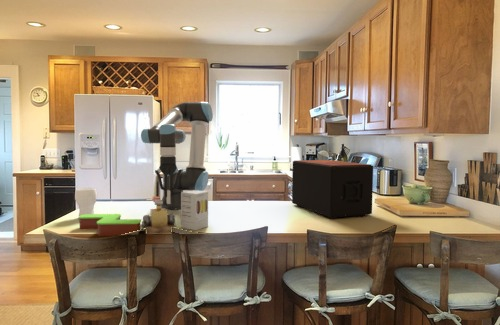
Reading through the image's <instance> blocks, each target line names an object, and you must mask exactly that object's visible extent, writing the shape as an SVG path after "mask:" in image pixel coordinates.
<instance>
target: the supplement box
mask: <svg viewBox="0 0 500 325" xmlns="http://www.w3.org/2000/svg"><path fill="white" fill-rule="evenodd" d="M180 227H181V228H182V229H188V230H193V231H198V230H200V229H204V228H208V227H209V191H206V190H203V191H197V190H193V191H187V190H186V191H183V192H181V209H180Z"/></svg>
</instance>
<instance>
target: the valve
mask: <svg viewBox="0 0 500 325" xmlns="http://www.w3.org/2000/svg"><path fill="white" fill-rule="evenodd" d="M155 206H156V208H150V211H149V212H150V215H145V214H144V215H143V216H142V221H143V226H145V227H146V226H152V227H156V226H167V224H169V225H171V224H176V223H175V222H176V220H175V219H176V216H175V214H174V213H168V209H166V208H161V205H155ZM143 226H142V227H143Z"/></svg>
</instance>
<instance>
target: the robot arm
mask: <svg viewBox="0 0 500 325" xmlns="http://www.w3.org/2000/svg"><path fill="white" fill-rule="evenodd" d="M213 115H214V114H213V109H212V106H211V104H210V102H207V101H185V102H180V103H178V104H176V105H174V106H172V107H171V108H170V109H169V110H168V111H167V114H166V115H164V117H162V118H161V119H160V120H159V121H158V122H156V124H154V125H153V126H152V127H151V128H144V129H142V130H141V132H140V138H141V141H142V143H144V144H159V156H160V157H159V158H160V159H159V160H160V161H159V166H158V167H159V168H158V169H156V170H154V173H155V174H156V177H157V180H158V184H159V188H160V190H162V192H163V195H162V198H161V200H162V201H163V204H162V205H161V208H166V210H173V211H174V210H181V192H184V191H186V192H187V191H193V190H197V191H205V189H206V188H207V186H208V183H209V172H208V171H206V167H205V165H204V163H205V161H204V160H205V147H206V132H207V127H208V126H209V125H210V122H212V121H213ZM181 122H182V123H183V122H189V125H190V126H191V133H190V147H189V160H188V165H187V166H185V167H186V168H185V170H184V169H183V168H182V167H181V168H178V167H177V157H176V155H177V152H176V151H177V148H176V147H177V145H180V144H182V143H184V142H185V141H186V138H187V136H186V132H185V131H184V130H182V129H180V128H176V125H177V124H180V123H181ZM176 144H177V145H176ZM161 173H162V177H161Z"/></svg>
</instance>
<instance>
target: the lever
mask: <svg viewBox="0 0 500 325" xmlns="http://www.w3.org/2000/svg"><path fill="white" fill-rule="evenodd" d="M152 202H153V203H154V205H155V206H156V205H162V204H163V201H162V199H161V197H160V196H152Z"/></svg>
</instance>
